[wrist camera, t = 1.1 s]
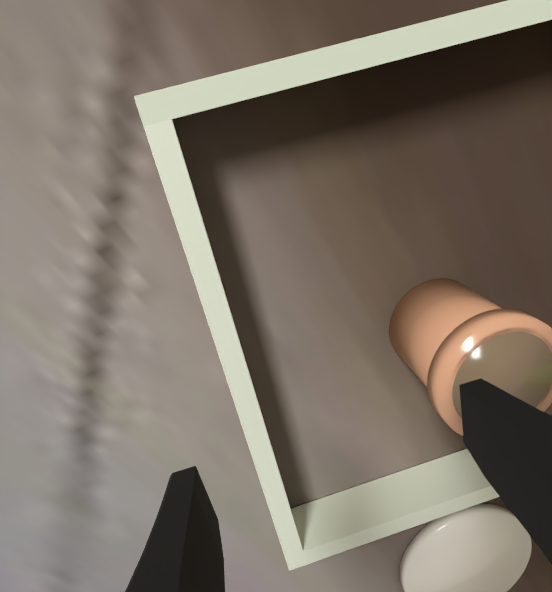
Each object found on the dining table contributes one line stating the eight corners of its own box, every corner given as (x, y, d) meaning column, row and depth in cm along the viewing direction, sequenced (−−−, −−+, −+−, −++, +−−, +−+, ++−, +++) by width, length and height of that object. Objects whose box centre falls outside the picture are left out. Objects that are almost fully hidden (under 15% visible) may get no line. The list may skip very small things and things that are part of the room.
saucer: (526, 579, 35) (533, 589, 35) (408, 622, 35) (413, 633, 34) (521, 485, 32) (529, 494, 31) (390, 532, 31) (395, 542, 30)
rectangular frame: (642, 401, 31) (688, 430, 28) (278, 526, 29) (289, 570, 26) (675, -41, 22) (748, -62, 19) (139, 97, 20) (133, 96, 17)
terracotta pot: (487, 353, 28) (567, 416, 22) (390, 385, 27) (446, 457, 21) (480, 257, 25) (567, 300, 20) (373, 289, 25) (431, 343, 19)
